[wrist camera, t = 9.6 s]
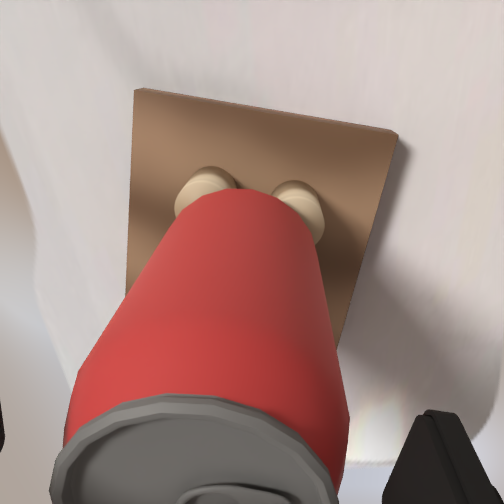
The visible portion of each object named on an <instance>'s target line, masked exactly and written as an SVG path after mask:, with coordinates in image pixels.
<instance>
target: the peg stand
mask: <svg viewBox="0 0 504 504" xmlns="http://www.w3.org/2000/svg"><path fill="white" fill-rule="evenodd" d="M397 139H398V134H396V133H395V132H393V131H392V130H389V129H383V128H377V127H371V126H365V125H359V124H353V123H347V122H341V121H336V120H330V119H324V118H318V117H312V116H306V115H300V114H294V113H289V112H283V111H277V110H271V109H265V108H259V107H253V106H247V105H241V104H236V103H230V102H224V101H218V100H212V99H206V98H200V97H194V96H189V95H183V94H177V93H171V92H165V91H159V90H153V89H147V88H141V89H136V90H134V105H133V128H132V152H131V176H130V199H129V223H128V246H127V270H126V293H125V297H126V295H127V294H128V292H129V290H130V289H131V287H132V286H133V284H134V283H135V281H136V279H137V278H138V276H139V275H140V273H141V272H142V270H143V268H144V267H145V265H146V264H147V262H148V261H149V259H150V257H151V256H152V254H153V253H154V251H155V249H156V248H157V246H158V245H159V243H160V242H161V240H162V238H163V237H164V235H165V234H166V232H167V231H168V229H169V227H170V226H171V225H172V223H173V222H174V221H175V219H176V218H177V216H178V215H179V214H180V212H181V211H182V209H184V208H185V207H187V206H188V205H190V204H191V203H192V202H194V201H195V200H197V199H198V198H200V197H201V196H203V195H206V194H210V193H213V192H217V191H220V190H223V189H253V190H256V191H259V192H262V193H265V194H268V195H271V196H274V197H276V198H278V199H280V200H281V201H282V202H284V203H285V204H286V205H288V206H289V207H290V208H292V209H293V210H294V211H296V212H297V213H298V214H299V216H300V217H301V219H302V220H303V222H304V223H305V225H306V226H307V227H308V229H309V230H310V232H311V234H312V238H313V241H314V245H315V249H316V252H317V256H318V261H319V266H320V271H321V276H322V281H323V286H324V291H325V296H326V301H327V306H328V311H329V316H330V321H331V326H332V331H333V336H334V341H335V346H336V350H337V346H338V343H339V339H340V336H341V332H342V329H343V325H344V322H345V319H346V315H347V312H348V308H349V305H350V301H351V298H352V294H353V291H354V287H355V284H356V280H357V277H358V274H359V270H360V267H361V263H362V260H363V256H364V253H365V249H366V246H367V242H368V239H369V235H370V232H371V229H372V225H373V222H374V218H375V215H376V211H377V208H378V204H379V201H380V197H381V194H382V190H383V187H384V184H385V180H386V177H387V173H388V170H389V166H390V163H391V159H392V156H393V152H394V149H395V145H396V142H397Z"/></svg>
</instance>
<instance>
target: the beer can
mask: <svg viewBox="0 0 504 504" xmlns="http://www.w3.org/2000/svg"><path fill="white" fill-rule="evenodd" d="M349 422H350V416H349V411H348V406H347V401H346V396H345V391H344V386H343V381H342V376H341V371H340V366H339V361H338V356H337V351H336V346H335V341H334V336H333V331H332V326H331V321H330V316H329V311H328V306H327V301H326V296H325V291H324V286H323V281H322V276H321V271H320V266H319V261H318V256H317V252H316V249H315V245H314V241H313V238H312V234H311V232H310V230H309V229H308V227H307V226H306V225H305V223H304V222H303V220H302V219H301V217H300V216H299V214H298V213H297V212H296V211H294V210H293V209H292V208H290V207H289V206H288V205H286V204H285V203H284V202H282V201H281V200H280V199H278V198H276V197H274V196H271V195H268V194H265V193H262V192H259V191H256V190H253V189H223V190H220V191H217V192H213V193H210V194H206V195H203V196H201V197H200V198H198V199H197V200H195V201H194V202H192V203H191V204H190V205H188V206H187V207H185V208H184V209H182V211H181V212H180V214H179V215H178V216H177V218H176V219H175V221H174V222H173V223H172V225H171V226H170V227H169V229H168V231H167V232H166V234H165V235H164V237H163V238H162V240H161V242H160V243H159V245H158V246H157V248H156V249H155V251H154V253H153V254H152V256H151V257H150V259H149V261H148V262H147V264H146V265H145V267H144V268H143V270H142V272H141V273H140V275H139V276H138V278H137V279H136V281H135V283H134V284H133V286H132V287H131V289H130V290H129V292H128V294H127V295H126V297H125V298H124V300H123V302H122V303H121V305H120V306H119V308H118V309H117V311H116V313H115V314H114V316H113V317H112V319H111V320H110V322H109V324H108V325H107V327H106V328H105V330H104V331H103V333H102V335H101V336H100V338H99V339H98V341H97V343H96V344H95V346H94V347H93V349H92V350H91V352H90V354H89V355H88V357H87V358H86V360H85V361H84V363H83V365H82V366H81V368H80V369H79V371H78V374H77V378H76V381H75V385H74V388H73V392H72V395H71V400H70V404H69V409H68V414H67V418H66V423H65V427H64V438H63V449H62V450H61V452H60V453H59V454H58V456H57V458H56V460H55V464H54V469H53V474H52V479H51V484H50V488H49V492H50V496H51V500H52V504H339V500H338V497H337V495H338V491H339V488H340V484H341V481H342V478H343V473H344V465H345V458H346V451H347V444H348V433H349Z"/></svg>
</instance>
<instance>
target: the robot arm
mask: <svg viewBox="0 0 504 504" xmlns="http://www.w3.org/2000/svg"><path fill="white" fill-rule="evenodd" d="M4 440H5V434H4V426H3V418H2V411H1V404H0V452H1V450H2V448H3V445H4ZM382 504H504V503H503V500H502V498H501V496H500V495H499V493H498V491H497V490H496V488H495V487H494V486H492V485H491V483H490V481H489V479H488V476H487V474H486V472H485V470H484V468H483V466H482V464H481V462H480V460H479V458H478V456H477V454H476V452H475V450H474V448H473V446H472V444H471V441H470V439H469V437H468V435H467V433H466V431H465V429H464V427H463V425H462V423H461V421H460V419H459V417H458V416H457V415H456V414H455V413H450V412H443V411H436V410H426V411H425V413H424V414H423V415H418V416H417V417H416V418H415V421H414V423H413V425H412V427H411V430H410V432H409V434H408V437H407V439H406V441H405V443H404V446H403V448H402V450H401V452H400V455H399V457H398V459H397V462H396V464H395V466H394V468H393V471H392V473H391V475H390V477H389V480H388V482H387V484H386V487H385V489H384V491H383V495H382Z"/></svg>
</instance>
